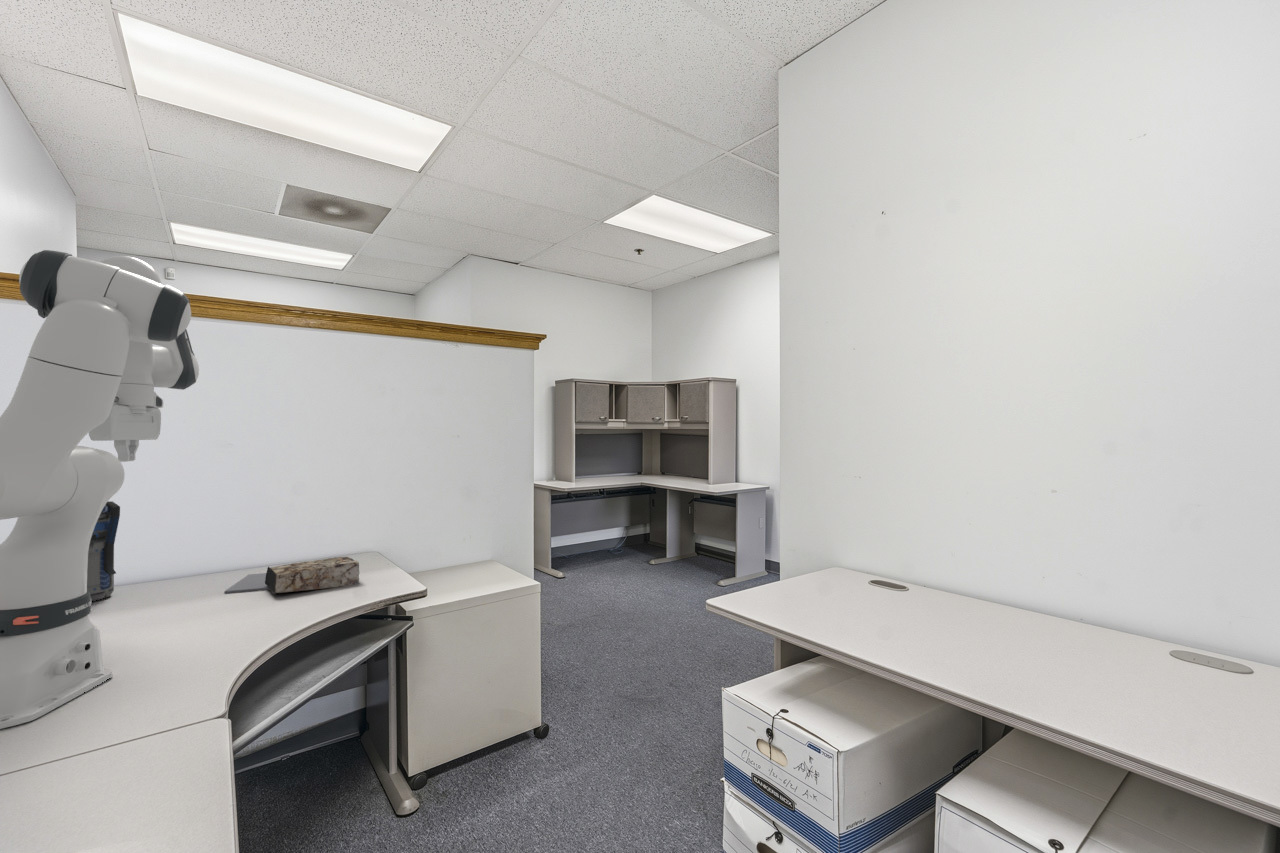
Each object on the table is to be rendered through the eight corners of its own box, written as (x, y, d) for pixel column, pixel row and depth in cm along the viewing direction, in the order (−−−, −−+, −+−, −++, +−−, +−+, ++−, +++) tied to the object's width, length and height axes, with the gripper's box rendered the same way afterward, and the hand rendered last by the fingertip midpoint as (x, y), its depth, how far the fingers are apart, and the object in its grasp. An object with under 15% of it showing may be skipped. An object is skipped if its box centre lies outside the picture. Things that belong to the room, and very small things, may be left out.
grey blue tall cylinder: (97, 605, 131) (98, 501, 131) (39, 606, 130) (40, 502, 131) (134, 593, 141) (135, 496, 142) (80, 594, 141) (81, 497, 141)
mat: (304, 586, 146) (304, 584, 146) (224, 593, 140) (224, 591, 140) (319, 570, 163) (319, 568, 163) (248, 576, 157) (248, 574, 157)
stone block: (274, 601, 136) (360, 587, 150) (275, 573, 136) (362, 562, 150) (264, 585, 146) (346, 573, 160) (265, 559, 145) (347, 550, 159)
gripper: (117, 395, 111) (117, 463, 111) (167, 401, 130) (167, 459, 130) (77, 394, 109) (77, 464, 109) (134, 400, 128) (133, 459, 128)
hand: (126, 461), depth 120 cm, fingers closed
